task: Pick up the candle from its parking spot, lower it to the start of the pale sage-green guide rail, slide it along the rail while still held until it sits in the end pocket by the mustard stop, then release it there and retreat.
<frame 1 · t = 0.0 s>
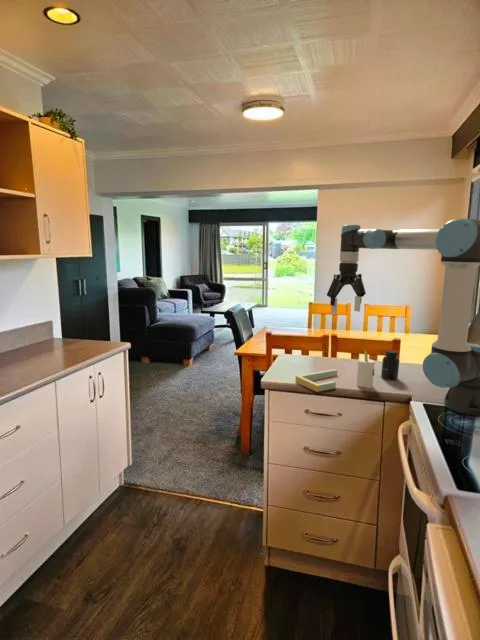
hand: (345, 312, 175), 28 cm above the worktop, fingers open, 13 cm apart
candle: (364, 386, 166), on the worktop
guide rail: (327, 382, 169), on the worktop
supplement bottle: (389, 378, 176), on the worktop
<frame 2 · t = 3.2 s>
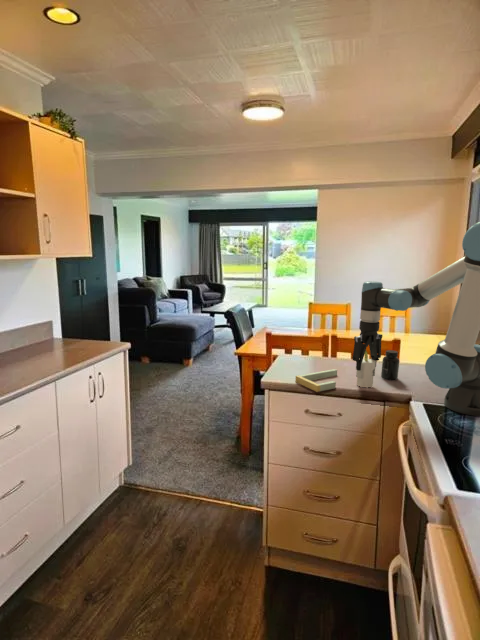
hand: (365, 376, 165), 4 cm above the worktop, fingers closed on candle, 6 cm apart
candle: (364, 385, 166), on the worktop, touching gripper
everything else where it was.
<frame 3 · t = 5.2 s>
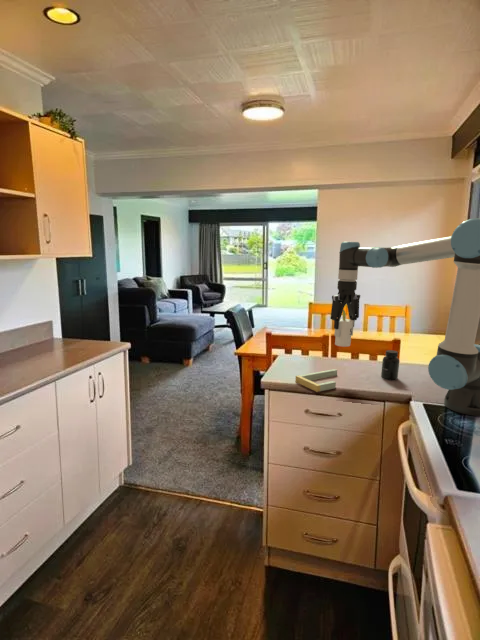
hand: (343, 335, 169), 19 cm above the worktop, fingers closed on candle, 6 cm apart
candle: (342, 345, 170), point 15 cm above the worktop, touching gripper
everything else where it was.
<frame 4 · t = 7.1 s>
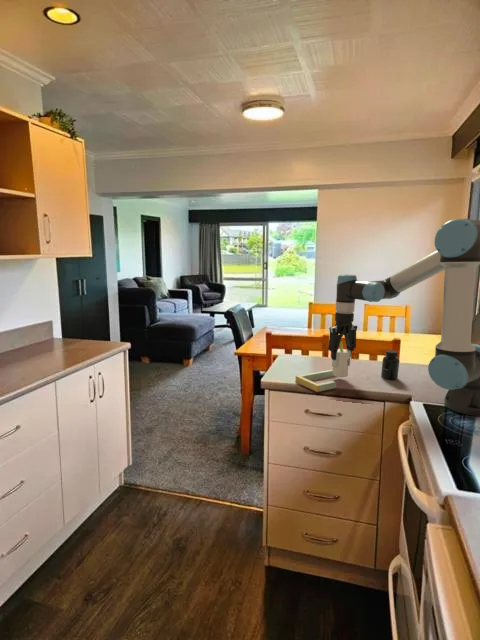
hand: (340, 365, 171), 6 cm above the worktop, fingers closed on candle, 6 cm apart
candle: (340, 375, 172), point 2 cm above the worktop, touching gripper
everything else where it was.
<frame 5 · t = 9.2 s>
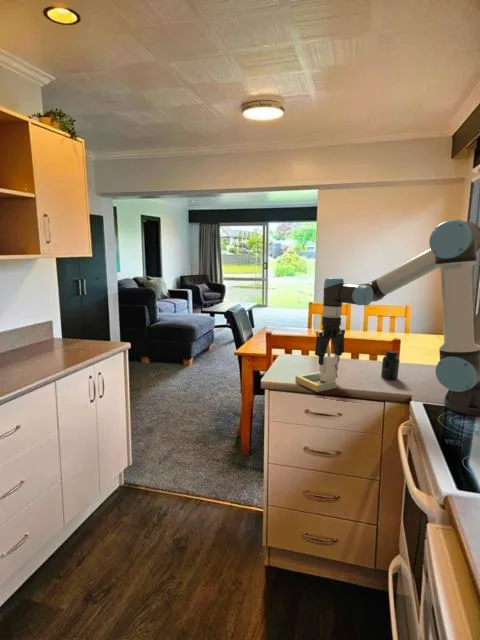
hand: (328, 370, 168), 5 cm above the worktop, fingers closed on candle, 6 cm apart
candle: (327, 380, 169), point 1 cm above the worktop, touching gripper
everything else where it was.
when the fingers open (5 cm above the worktop, at t = 10.8 s): candle stays where it is, on the worktop.
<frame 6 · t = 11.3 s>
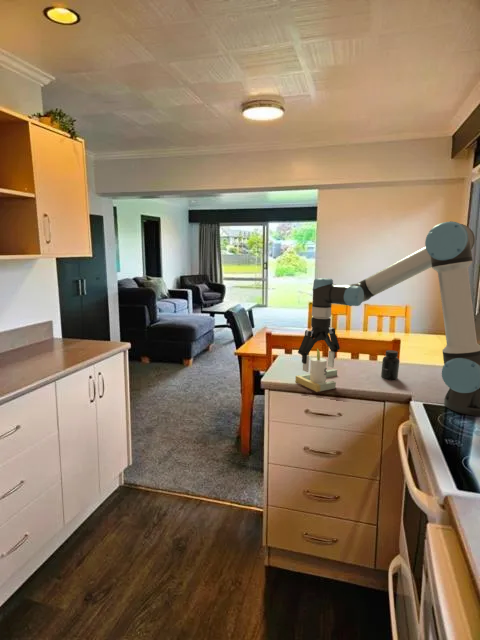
hand: (318, 368, 165), 7 cm above the worktop, fingers open, 13 cm apart
candle: (317, 384, 166), on the worktop
everything else where it was.
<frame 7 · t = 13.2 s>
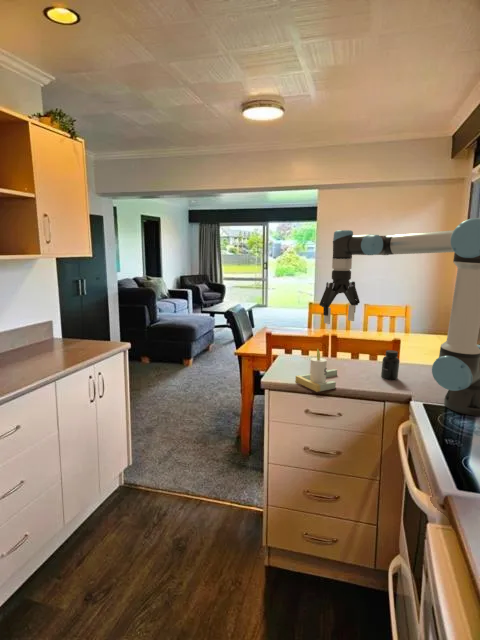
hand: (339, 322, 166), 25 cm above the worktop, fingers open, 13 cm apart
nothing on the worktop moved.
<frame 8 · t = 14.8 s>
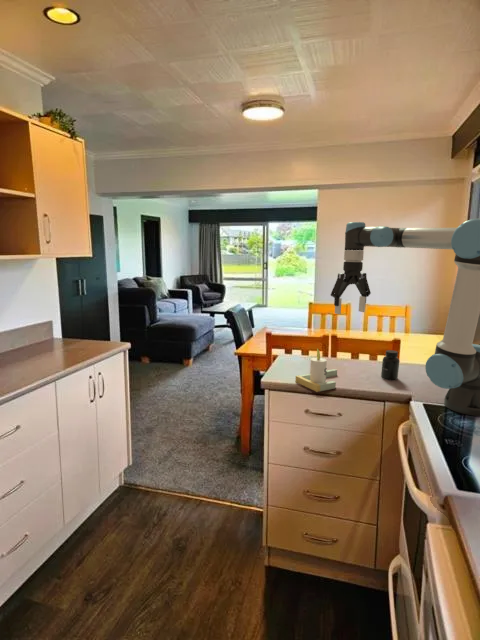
hand: (349, 312, 169), 29 cm above the worktop, fingers open, 13 cm apart
nothing on the worktop moved.
at the end: candle inside the target area (1.1 cm from its centre), on the worktop; candle tilted 0°; the gripper is holding nothing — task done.
